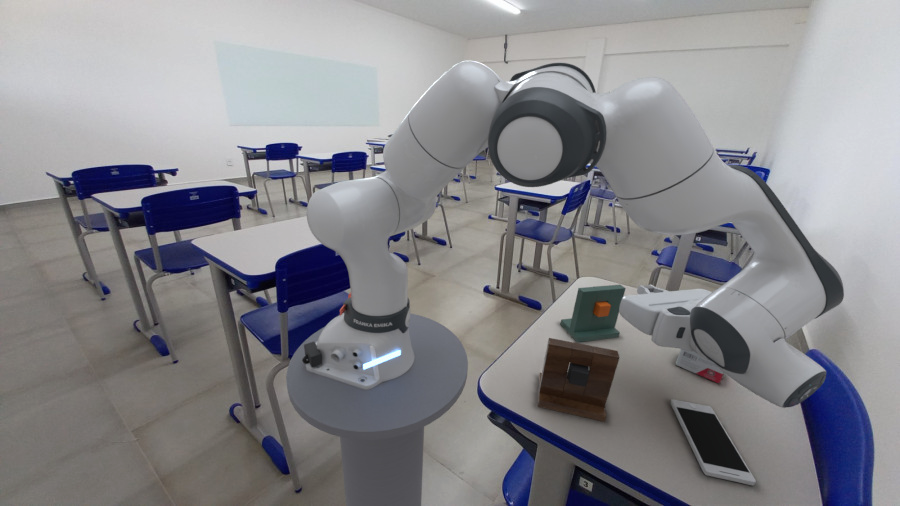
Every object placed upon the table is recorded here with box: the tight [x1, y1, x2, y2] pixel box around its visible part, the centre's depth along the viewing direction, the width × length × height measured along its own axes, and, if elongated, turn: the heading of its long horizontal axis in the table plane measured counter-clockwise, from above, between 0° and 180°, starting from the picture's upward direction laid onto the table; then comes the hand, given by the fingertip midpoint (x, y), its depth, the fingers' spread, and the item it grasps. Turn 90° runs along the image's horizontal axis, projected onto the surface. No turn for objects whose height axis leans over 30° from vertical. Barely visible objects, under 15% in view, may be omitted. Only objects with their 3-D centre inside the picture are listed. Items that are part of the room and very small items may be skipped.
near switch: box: [568, 363, 589, 387], centre depth 64 cm, size 3×3×3 cm
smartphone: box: [670, 398, 757, 486], centre depth 62 cm, size 7×15×1 cm, turn 168°
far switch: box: [593, 301, 611, 317], centre depth 87 cm, size 3×3×3 cm
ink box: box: [675, 349, 725, 385], centre depth 77 cm, size 9×5×12 cm, turn 46°
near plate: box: [537, 337, 620, 423], centre depth 67 cm, size 8×12×13 cm, turn 76°
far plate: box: [560, 284, 627, 343], centre depth 89 cm, size 8×12×13 cm, turn 105°
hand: (643, 288), depth 73 cm, fingers closed
